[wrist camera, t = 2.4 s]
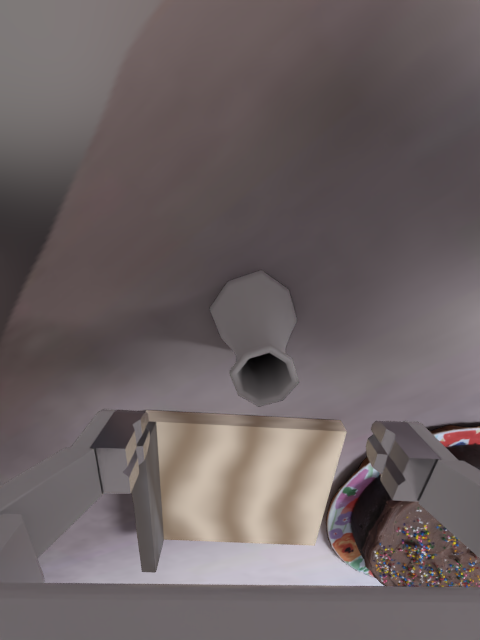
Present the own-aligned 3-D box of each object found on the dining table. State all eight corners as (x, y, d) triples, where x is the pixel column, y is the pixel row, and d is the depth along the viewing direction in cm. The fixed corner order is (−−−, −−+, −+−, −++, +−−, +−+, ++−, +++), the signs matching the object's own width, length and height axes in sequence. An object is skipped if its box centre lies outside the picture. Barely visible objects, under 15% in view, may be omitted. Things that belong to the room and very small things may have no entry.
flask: (245, 364, 23) (248, 457, 13) (194, 305, 21) (157, 365, 11) (310, 321, 21) (367, 391, 12) (263, 253, 19) (286, 272, 10)
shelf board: (340, 420, 25) (361, 458, 20) (311, 531, 31) (322, 578, 27) (143, 409, 24) (122, 447, 20) (153, 524, 30) (139, 571, 26)
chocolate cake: (294, 555, 33) (306, 629, 27) (381, 393, 24) (429, 449, 18) (472, 582, 36) (521, 655, 29) (613, 444, 26) (727, 508, 20)
